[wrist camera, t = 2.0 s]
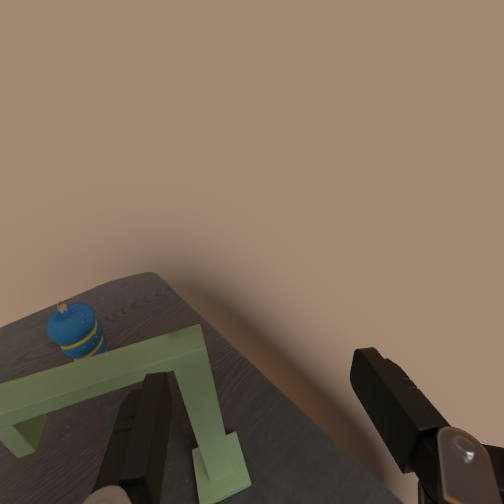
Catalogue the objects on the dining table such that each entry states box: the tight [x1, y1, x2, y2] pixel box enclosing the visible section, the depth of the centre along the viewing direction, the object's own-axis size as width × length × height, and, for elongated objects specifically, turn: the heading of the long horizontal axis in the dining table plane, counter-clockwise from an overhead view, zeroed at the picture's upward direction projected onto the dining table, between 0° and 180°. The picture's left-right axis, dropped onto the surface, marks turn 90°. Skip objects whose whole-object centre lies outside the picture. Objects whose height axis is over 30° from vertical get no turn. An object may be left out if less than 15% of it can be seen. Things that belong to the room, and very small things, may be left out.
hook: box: [0, 324, 251, 504], centre depth 22 cm, size 14×5×19 cm, turn 110°
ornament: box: [47, 301, 108, 362], centre depth 34 cm, size 5×5×15 cm
